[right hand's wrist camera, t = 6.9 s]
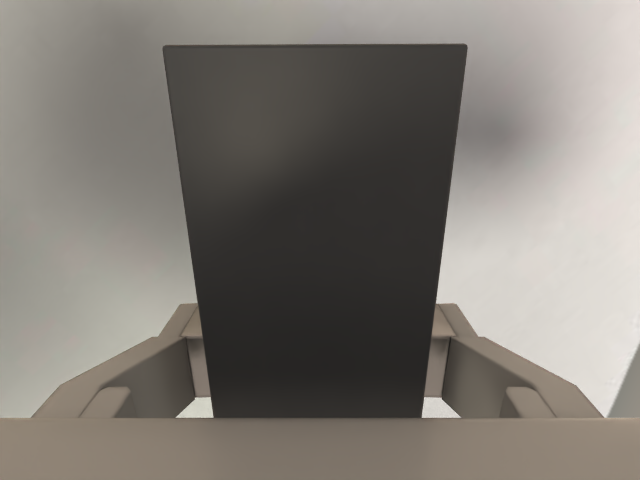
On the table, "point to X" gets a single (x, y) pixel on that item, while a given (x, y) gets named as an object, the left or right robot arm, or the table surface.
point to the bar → (316, 219)
